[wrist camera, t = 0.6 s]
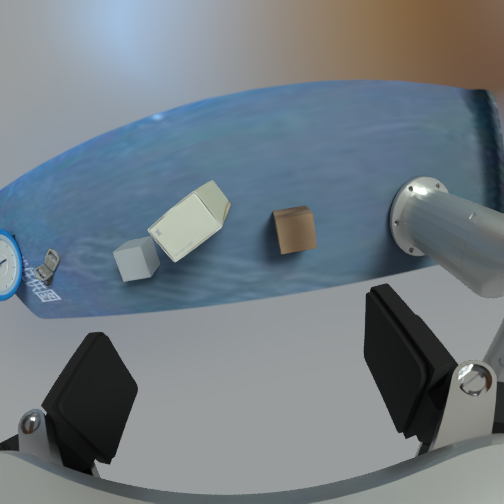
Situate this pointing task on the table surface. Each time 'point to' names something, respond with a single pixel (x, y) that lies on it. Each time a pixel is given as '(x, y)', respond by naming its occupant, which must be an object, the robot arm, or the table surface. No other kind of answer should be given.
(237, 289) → the table surface
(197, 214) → the skincare box
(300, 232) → the walnut block
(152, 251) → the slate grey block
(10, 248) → the alarm clock
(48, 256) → the strap clip
